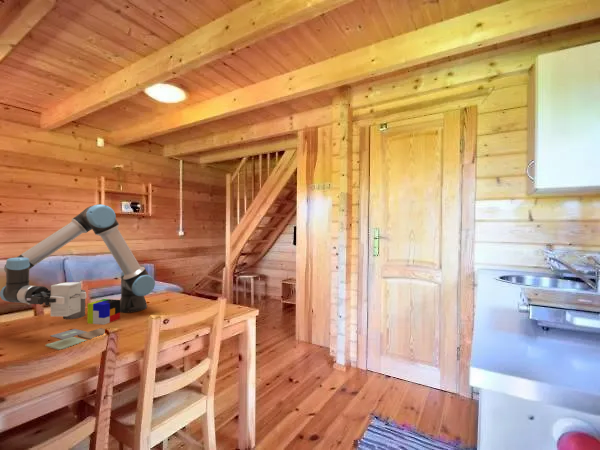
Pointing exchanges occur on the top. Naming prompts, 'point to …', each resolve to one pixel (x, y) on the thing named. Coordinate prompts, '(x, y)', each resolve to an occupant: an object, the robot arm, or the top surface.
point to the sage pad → (65, 343)
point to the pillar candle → (78, 314)
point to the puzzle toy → (103, 311)
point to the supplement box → (66, 298)
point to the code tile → (68, 334)
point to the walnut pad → (92, 333)
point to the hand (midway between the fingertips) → (74, 298)
